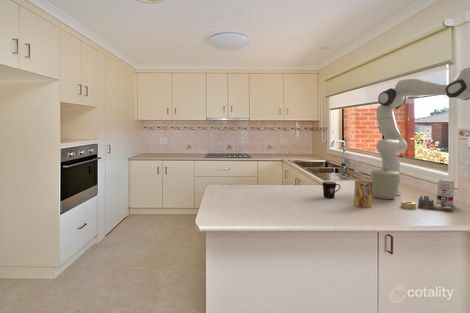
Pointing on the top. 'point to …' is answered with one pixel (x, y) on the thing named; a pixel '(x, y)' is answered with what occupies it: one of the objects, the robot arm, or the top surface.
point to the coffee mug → (329, 189)
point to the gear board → (437, 205)
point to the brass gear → (408, 204)
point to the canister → (385, 183)
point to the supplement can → (445, 191)
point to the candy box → (363, 193)
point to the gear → (426, 201)
